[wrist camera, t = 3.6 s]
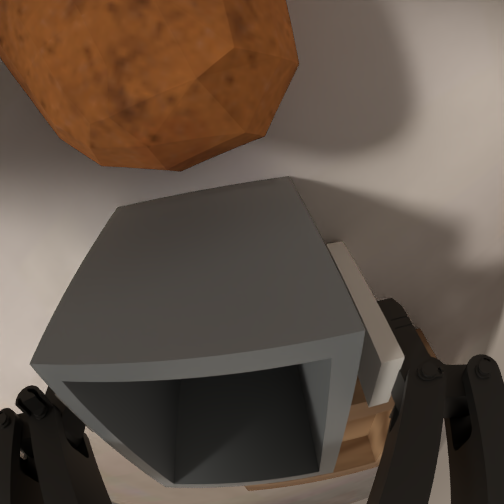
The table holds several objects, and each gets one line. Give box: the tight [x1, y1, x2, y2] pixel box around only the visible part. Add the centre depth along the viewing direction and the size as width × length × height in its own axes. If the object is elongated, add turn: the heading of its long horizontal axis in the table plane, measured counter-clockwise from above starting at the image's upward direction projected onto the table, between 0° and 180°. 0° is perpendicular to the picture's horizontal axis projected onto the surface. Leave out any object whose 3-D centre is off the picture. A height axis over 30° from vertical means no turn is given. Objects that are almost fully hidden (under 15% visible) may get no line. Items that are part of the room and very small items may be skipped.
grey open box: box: [30, 176, 365, 488], centre depth 11 cm, size 9×7×8 cm
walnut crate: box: [245, 328, 436, 491], centre depth 20 cm, size 15×14×4 cm
